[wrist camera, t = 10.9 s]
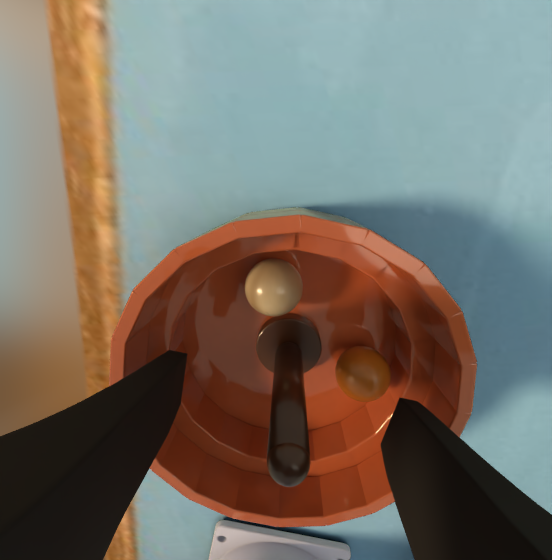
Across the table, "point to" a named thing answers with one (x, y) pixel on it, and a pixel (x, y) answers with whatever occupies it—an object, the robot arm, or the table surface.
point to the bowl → (318, 381)
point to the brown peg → (288, 393)
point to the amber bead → (363, 373)
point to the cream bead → (273, 287)
